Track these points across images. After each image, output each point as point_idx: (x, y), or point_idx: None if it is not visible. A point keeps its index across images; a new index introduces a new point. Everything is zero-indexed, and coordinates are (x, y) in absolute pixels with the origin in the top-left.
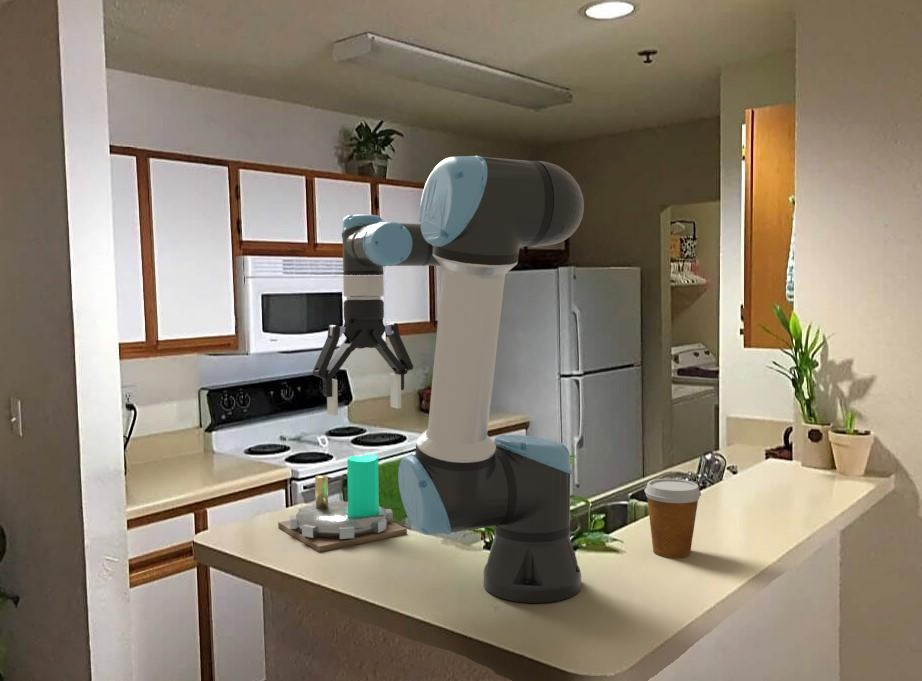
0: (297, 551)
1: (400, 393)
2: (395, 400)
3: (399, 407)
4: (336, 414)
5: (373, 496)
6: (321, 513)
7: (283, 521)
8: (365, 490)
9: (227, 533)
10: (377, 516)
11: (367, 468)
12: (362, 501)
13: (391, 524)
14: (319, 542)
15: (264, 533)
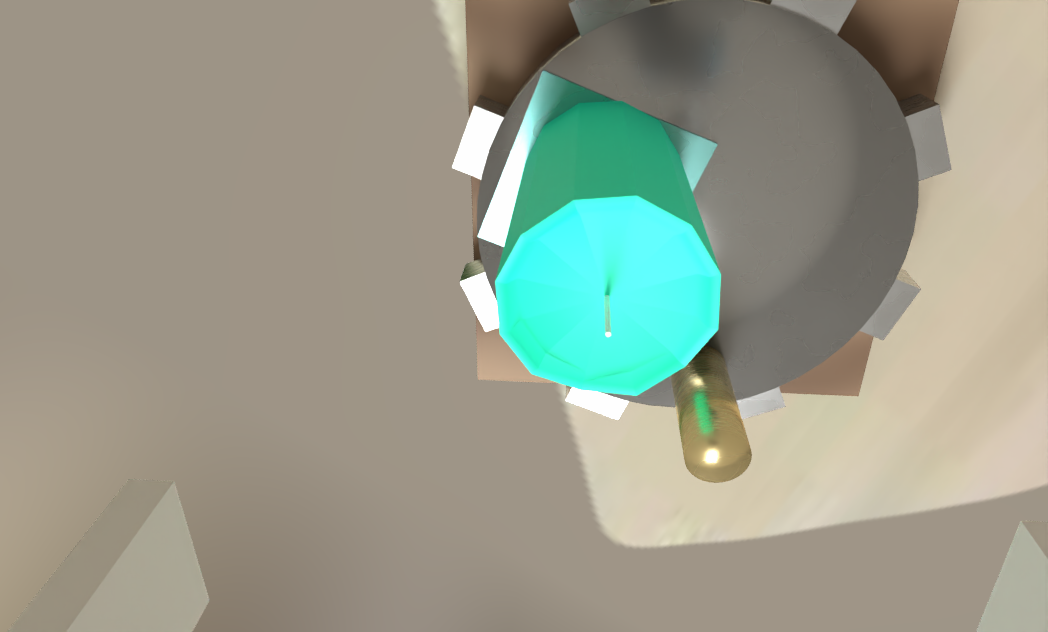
0: (1011, 52)
1: (17, 630)
2: (139, 591)
3: (146, 485)
4: (1043, 527)
5: (589, 126)
6: (761, 284)
7: (835, 393)
8: (640, 143)
9: (1038, 428)
10: (579, 79)
11: (635, 181)
12: (651, 135)
13: (493, 84)
14: (920, 36)
15: (939, 351)
